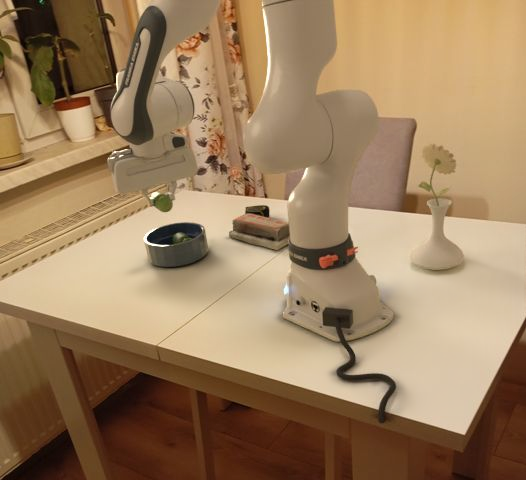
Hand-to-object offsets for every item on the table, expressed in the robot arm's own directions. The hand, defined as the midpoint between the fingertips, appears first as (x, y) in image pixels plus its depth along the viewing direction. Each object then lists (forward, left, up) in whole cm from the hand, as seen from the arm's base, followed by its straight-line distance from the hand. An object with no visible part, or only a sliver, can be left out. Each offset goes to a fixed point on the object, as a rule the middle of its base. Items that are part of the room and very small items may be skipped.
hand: (161, 203), depth 137 cm
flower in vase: (-46, -44, -14) cm, 65 cm away
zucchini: (0, -3, -14) cm, 14 cm away
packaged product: (-6, -24, -14) cm, 28 cm away
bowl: (0, -2, -14) cm, 14 cm away
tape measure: (+7, -29, -14) cm, 33 cm away
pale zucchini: (0, 0, -2) cm, 2 cm away
